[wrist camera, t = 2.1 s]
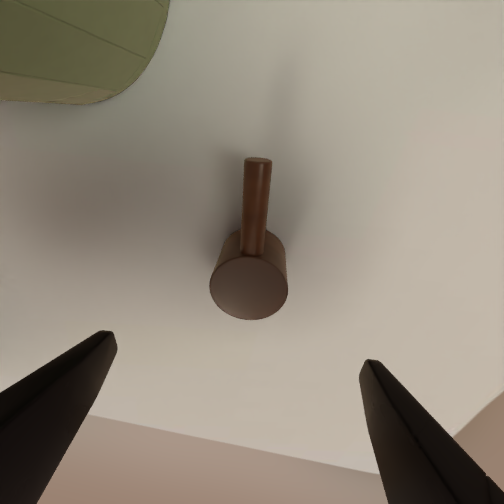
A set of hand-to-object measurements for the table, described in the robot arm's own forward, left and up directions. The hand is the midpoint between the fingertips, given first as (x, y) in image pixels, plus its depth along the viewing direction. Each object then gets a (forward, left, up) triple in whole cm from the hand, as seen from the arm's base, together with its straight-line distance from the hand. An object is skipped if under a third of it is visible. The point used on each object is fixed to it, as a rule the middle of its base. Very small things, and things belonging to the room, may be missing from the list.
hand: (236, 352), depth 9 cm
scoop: (+2, 0, -7) cm, 7 cm away
